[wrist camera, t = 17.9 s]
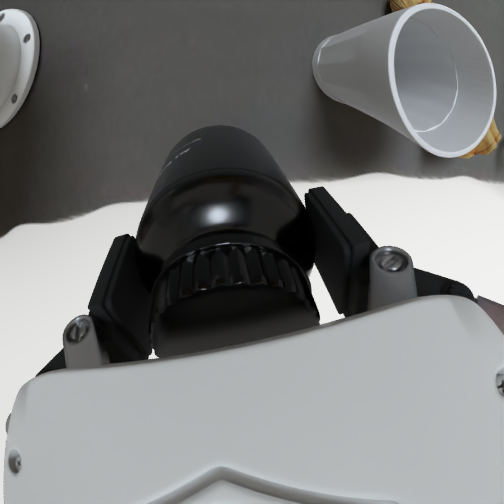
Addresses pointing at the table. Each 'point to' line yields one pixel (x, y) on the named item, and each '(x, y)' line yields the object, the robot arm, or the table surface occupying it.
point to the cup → (414, 76)
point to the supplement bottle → (224, 247)
